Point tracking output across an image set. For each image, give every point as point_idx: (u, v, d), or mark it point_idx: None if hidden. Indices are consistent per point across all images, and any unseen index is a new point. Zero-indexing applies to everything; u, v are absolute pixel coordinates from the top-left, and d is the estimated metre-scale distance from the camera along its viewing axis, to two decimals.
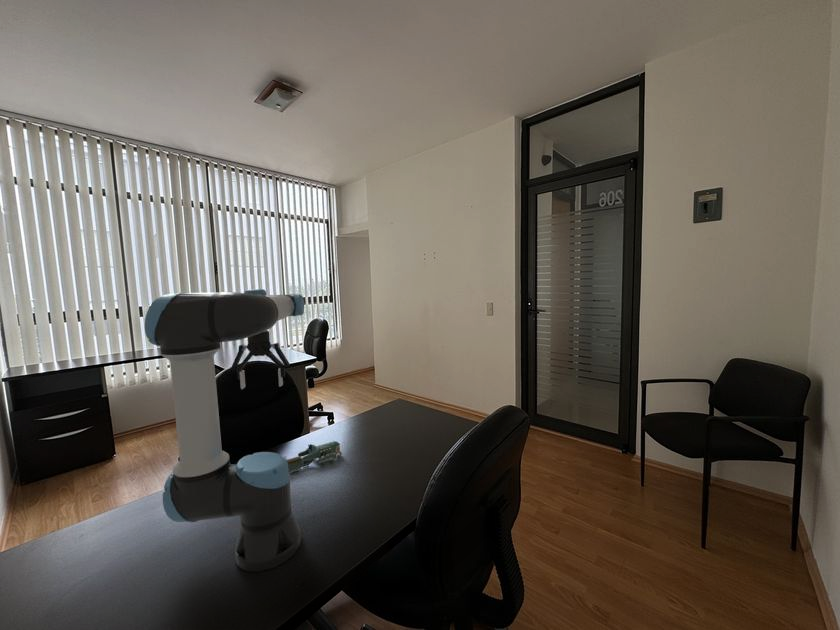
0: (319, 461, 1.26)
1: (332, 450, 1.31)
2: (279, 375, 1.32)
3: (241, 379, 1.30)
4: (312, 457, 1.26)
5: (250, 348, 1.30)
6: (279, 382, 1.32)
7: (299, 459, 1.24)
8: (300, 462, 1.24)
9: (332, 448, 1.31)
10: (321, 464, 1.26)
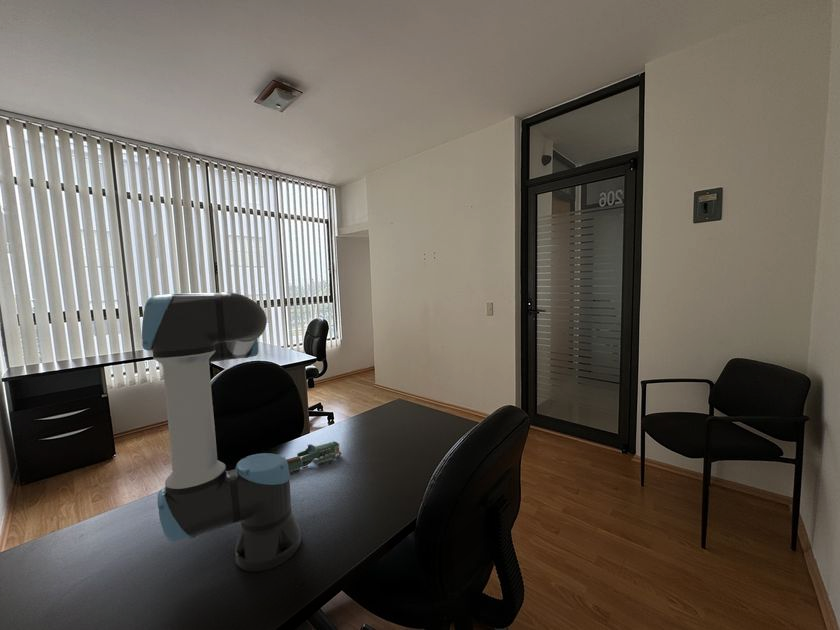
0: (318, 461, 1.25)
1: (331, 450, 1.31)
2: None
3: None
4: (311, 457, 1.26)
5: None
6: None
7: (298, 459, 1.24)
8: (299, 462, 1.24)
9: (331, 448, 1.31)
10: (320, 464, 1.26)
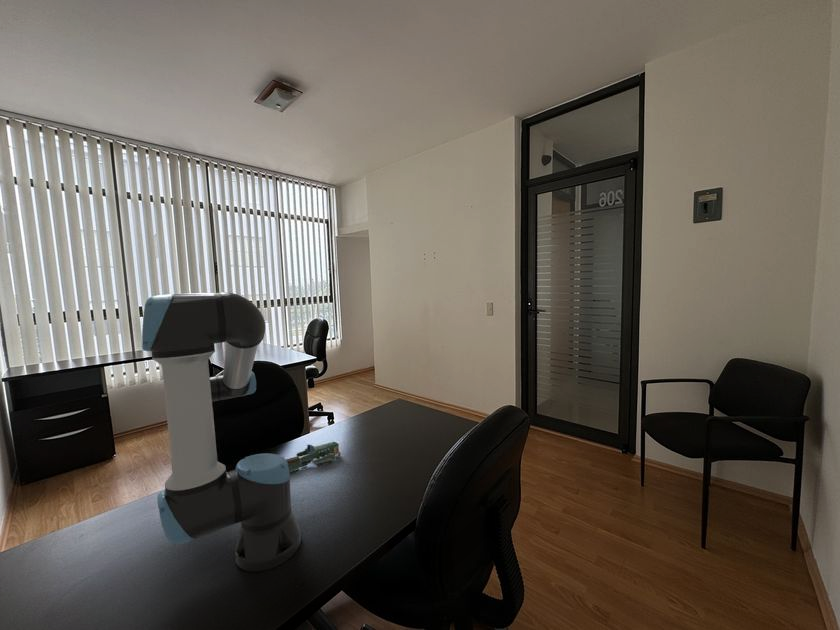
0: (317, 461, 1.25)
1: (331, 451, 1.31)
2: None
3: None
4: (310, 457, 1.26)
5: None
6: None
7: (297, 459, 1.24)
8: (298, 463, 1.24)
9: (331, 449, 1.31)
10: (319, 465, 1.26)
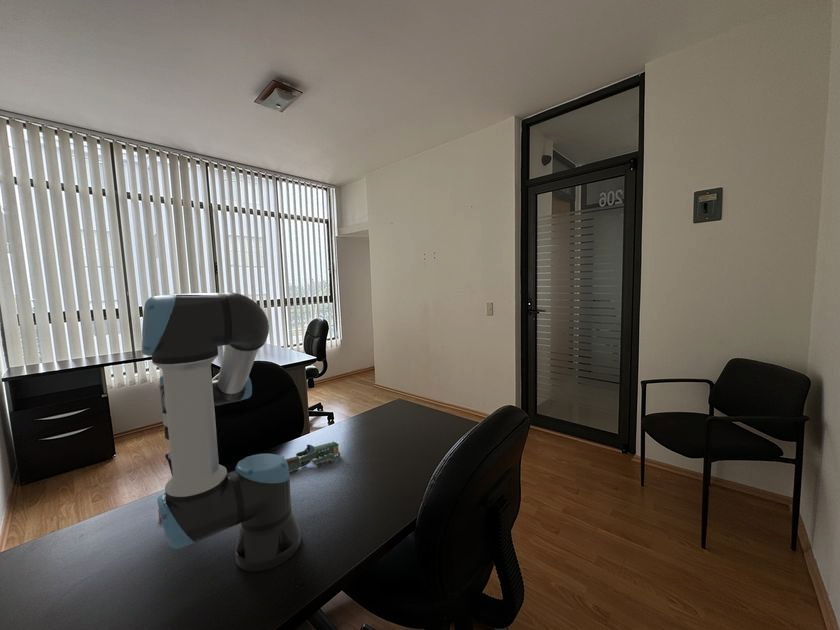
0: (317, 462, 1.25)
1: (330, 451, 1.31)
2: None
3: None
4: (310, 457, 1.26)
5: None
6: None
7: (297, 459, 1.24)
8: (298, 463, 1.24)
9: (330, 449, 1.31)
10: (319, 465, 1.26)
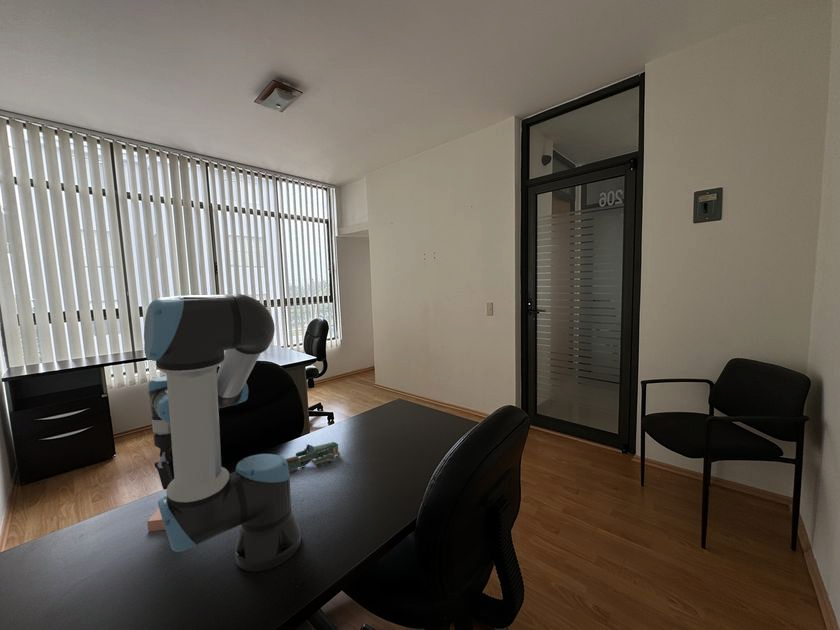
0: (316, 462, 1.25)
1: (330, 451, 1.30)
2: None
3: None
4: (309, 457, 1.26)
5: None
6: None
7: (296, 459, 1.24)
8: (297, 462, 1.24)
9: (330, 449, 1.30)
10: (318, 465, 1.26)
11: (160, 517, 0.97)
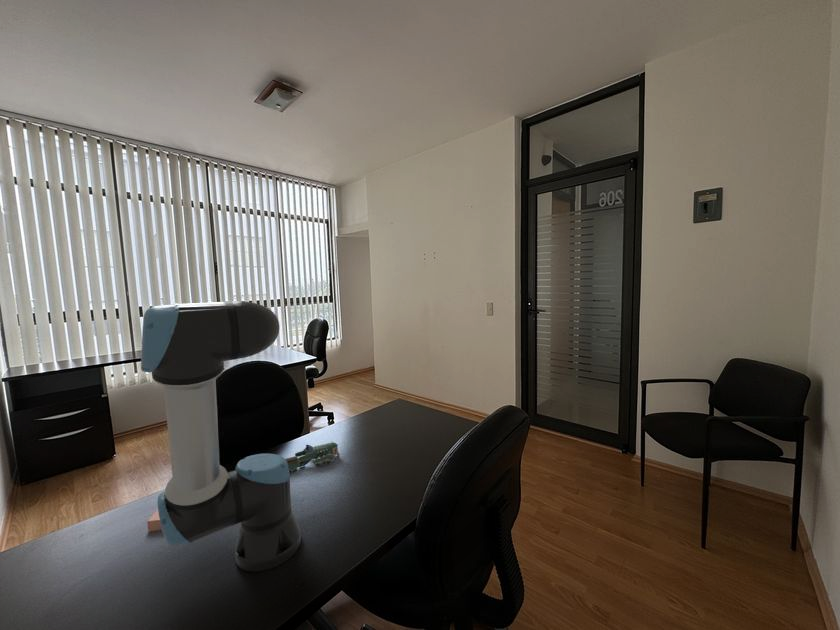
0: (315, 462, 1.25)
1: (329, 451, 1.30)
2: None
3: None
4: (308, 458, 1.26)
5: None
6: None
7: (295, 459, 1.24)
8: (296, 463, 1.24)
9: (329, 449, 1.30)
10: (317, 465, 1.26)
11: None
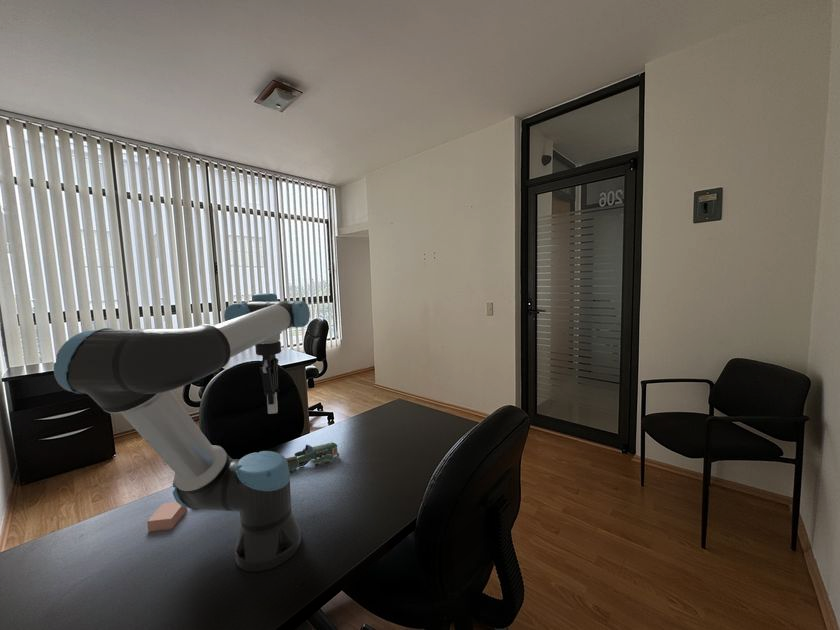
0: (314, 462, 1.25)
1: (329, 451, 1.30)
2: None
3: None
4: (308, 458, 1.26)
5: None
6: None
7: (294, 459, 1.24)
8: (296, 463, 1.24)
9: (329, 449, 1.30)
10: (316, 465, 1.25)
11: (160, 517, 0.97)
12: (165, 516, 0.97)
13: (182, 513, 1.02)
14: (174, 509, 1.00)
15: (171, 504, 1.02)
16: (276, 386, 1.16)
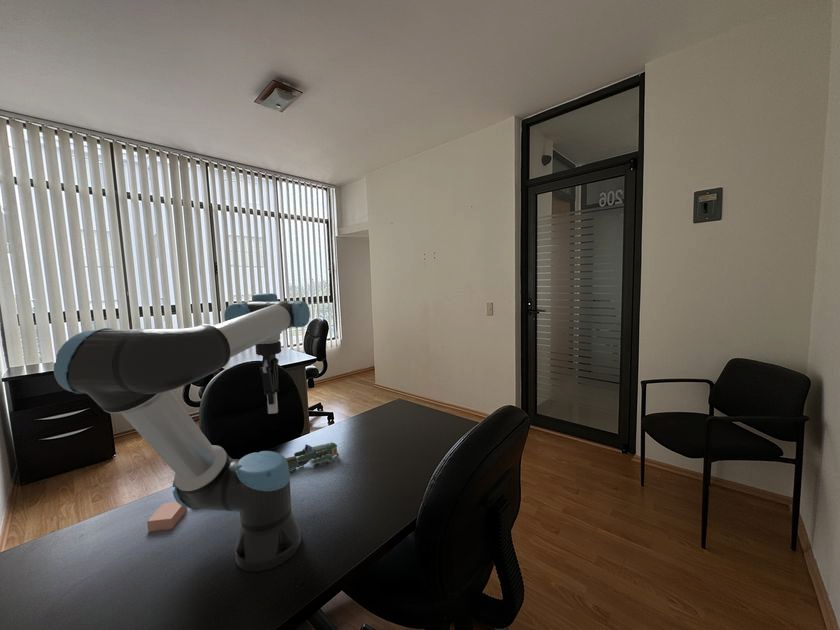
0: (314, 462, 1.25)
1: (328, 451, 1.30)
2: None
3: None
4: (307, 458, 1.26)
5: None
6: (268, 408, 1.15)
7: (294, 459, 1.24)
8: (295, 462, 1.24)
9: (328, 449, 1.30)
10: (316, 465, 1.25)
11: (160, 517, 0.97)
12: (165, 516, 0.97)
13: (182, 513, 1.02)
14: (174, 509, 1.00)
15: (171, 504, 1.02)
16: (276, 386, 1.16)
